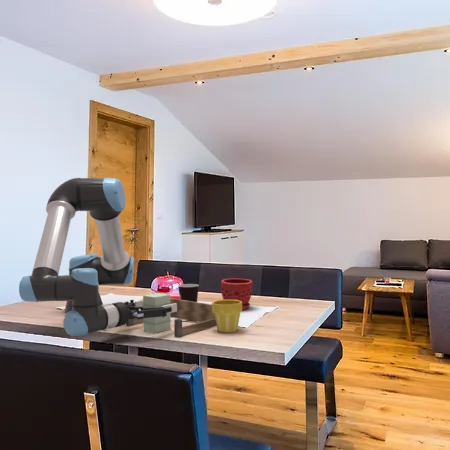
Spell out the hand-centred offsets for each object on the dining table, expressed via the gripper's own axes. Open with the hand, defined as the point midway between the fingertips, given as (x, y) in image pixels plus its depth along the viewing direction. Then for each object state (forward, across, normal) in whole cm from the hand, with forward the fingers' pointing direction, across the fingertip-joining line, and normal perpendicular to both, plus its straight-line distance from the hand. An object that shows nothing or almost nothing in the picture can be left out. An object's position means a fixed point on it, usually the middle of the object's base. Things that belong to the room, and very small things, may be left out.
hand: (162, 304), depth 161 cm
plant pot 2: (+11, +20, -8) cm, 24 cm away
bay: (+5, 0, -8) cm, 9 cm away
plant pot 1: (+42, 0, -8) cm, 43 cm away
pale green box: (-3, 0, -8) cm, 9 cm away
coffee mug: (+30, -16, -8) cm, 35 cm away
